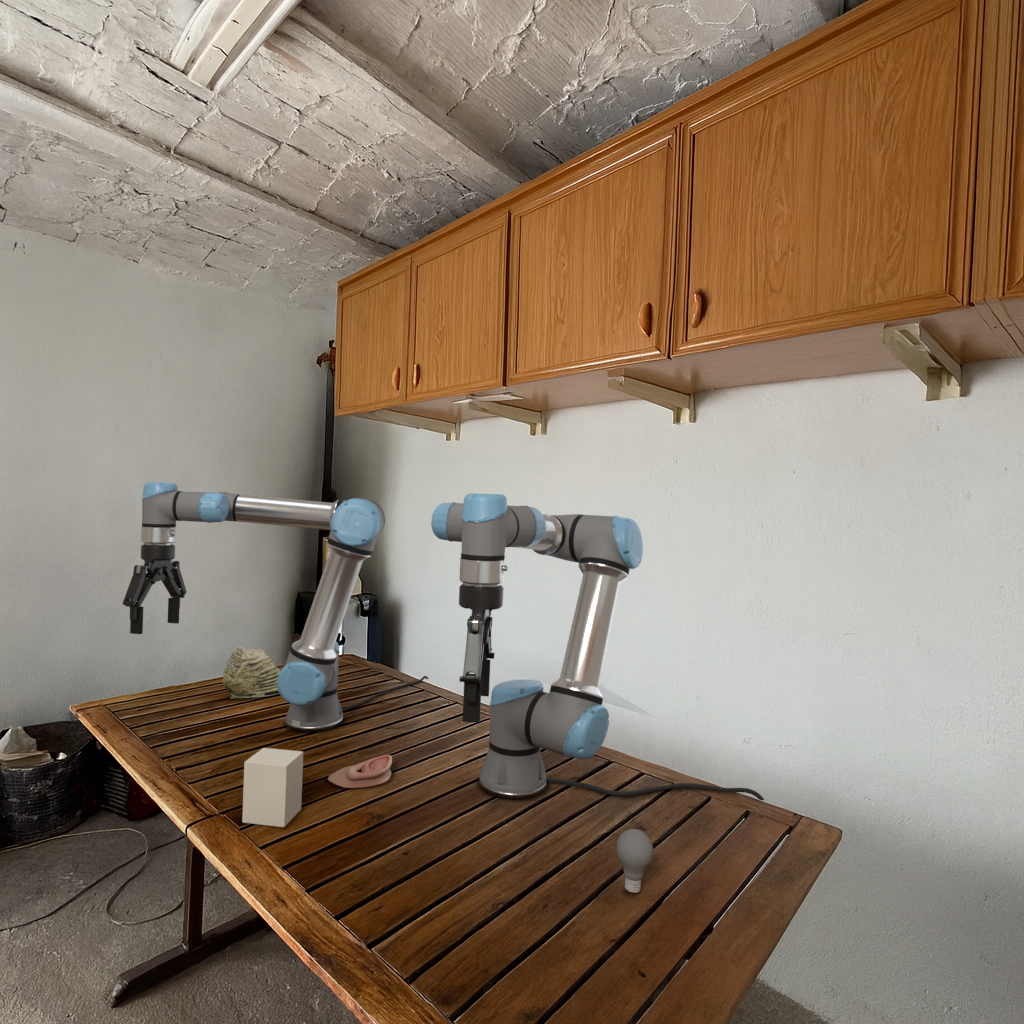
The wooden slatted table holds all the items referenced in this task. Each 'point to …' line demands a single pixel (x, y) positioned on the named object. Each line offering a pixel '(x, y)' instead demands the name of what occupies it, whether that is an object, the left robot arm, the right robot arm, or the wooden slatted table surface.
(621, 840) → the light bulb
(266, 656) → the fossil
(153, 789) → the wooden slatted table surface
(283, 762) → the block
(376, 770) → the anatomical model
